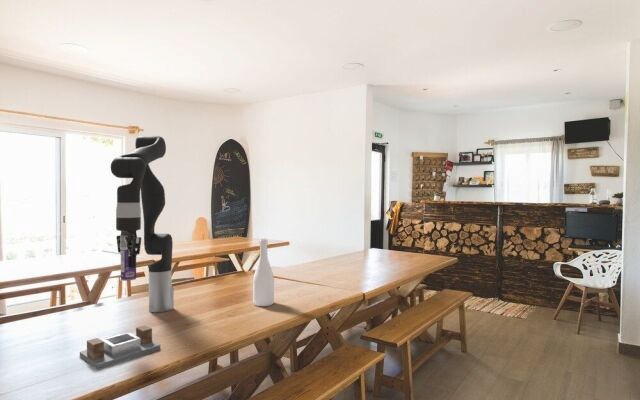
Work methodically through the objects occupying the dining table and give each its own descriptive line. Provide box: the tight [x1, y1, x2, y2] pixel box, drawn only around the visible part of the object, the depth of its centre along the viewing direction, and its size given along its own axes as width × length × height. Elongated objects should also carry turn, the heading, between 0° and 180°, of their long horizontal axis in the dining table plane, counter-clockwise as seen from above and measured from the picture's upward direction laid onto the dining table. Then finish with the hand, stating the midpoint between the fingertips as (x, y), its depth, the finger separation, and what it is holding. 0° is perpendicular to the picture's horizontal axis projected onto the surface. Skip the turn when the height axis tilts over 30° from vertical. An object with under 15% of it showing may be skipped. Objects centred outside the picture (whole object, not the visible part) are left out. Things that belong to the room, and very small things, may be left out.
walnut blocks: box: [86, 324, 153, 360], centre depth 124 cm, size 18×5×4 cm, turn 140°
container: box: [120, 234, 137, 282], centre depth 131 cm, size 5×5×15 cm
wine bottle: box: [252, 238, 275, 307], centre depth 178 cm, size 10×10×30 cm
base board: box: [79, 340, 161, 371], centre depth 124 cm, size 19×14×2 cm
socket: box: [100, 331, 141, 356], centre depth 124 cm, size 9×9×3 cm
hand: (128, 266), depth 131 cm, fingers closed on container, 4 cm apart
